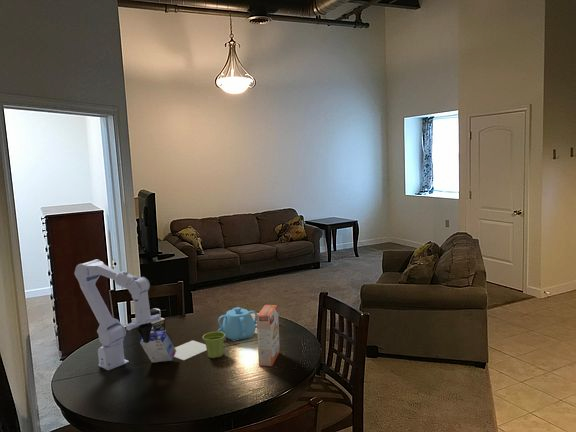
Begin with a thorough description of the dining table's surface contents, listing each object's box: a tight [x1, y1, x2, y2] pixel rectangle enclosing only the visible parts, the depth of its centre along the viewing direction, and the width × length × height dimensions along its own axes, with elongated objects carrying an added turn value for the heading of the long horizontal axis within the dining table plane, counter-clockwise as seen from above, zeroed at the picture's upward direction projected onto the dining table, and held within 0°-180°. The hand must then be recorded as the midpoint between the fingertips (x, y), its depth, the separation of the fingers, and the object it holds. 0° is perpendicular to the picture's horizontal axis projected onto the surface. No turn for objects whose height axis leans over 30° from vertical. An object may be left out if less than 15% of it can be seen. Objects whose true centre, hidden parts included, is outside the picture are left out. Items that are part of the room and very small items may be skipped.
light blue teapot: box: [217, 306, 258, 342], centre depth 220 cm, size 16×16×14 cm
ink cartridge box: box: [139, 329, 176, 363], centre depth 193 cm, size 10×6×14 cm, turn 77°
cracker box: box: [256, 304, 280, 367], centre depth 192 cm, size 14×6×21 cm, turn 168°
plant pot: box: [202, 331, 226, 359], centre depth 200 cm, size 9×9×9 cm
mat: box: [174, 339, 207, 361], centre depth 207 cm, size 16×14×1 cm
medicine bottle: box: [150, 307, 167, 333], centre depth 228 cm, size 7×7×12 cm
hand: (146, 342), depth 189 cm, fingers closed, pressing on ink cartridge box
